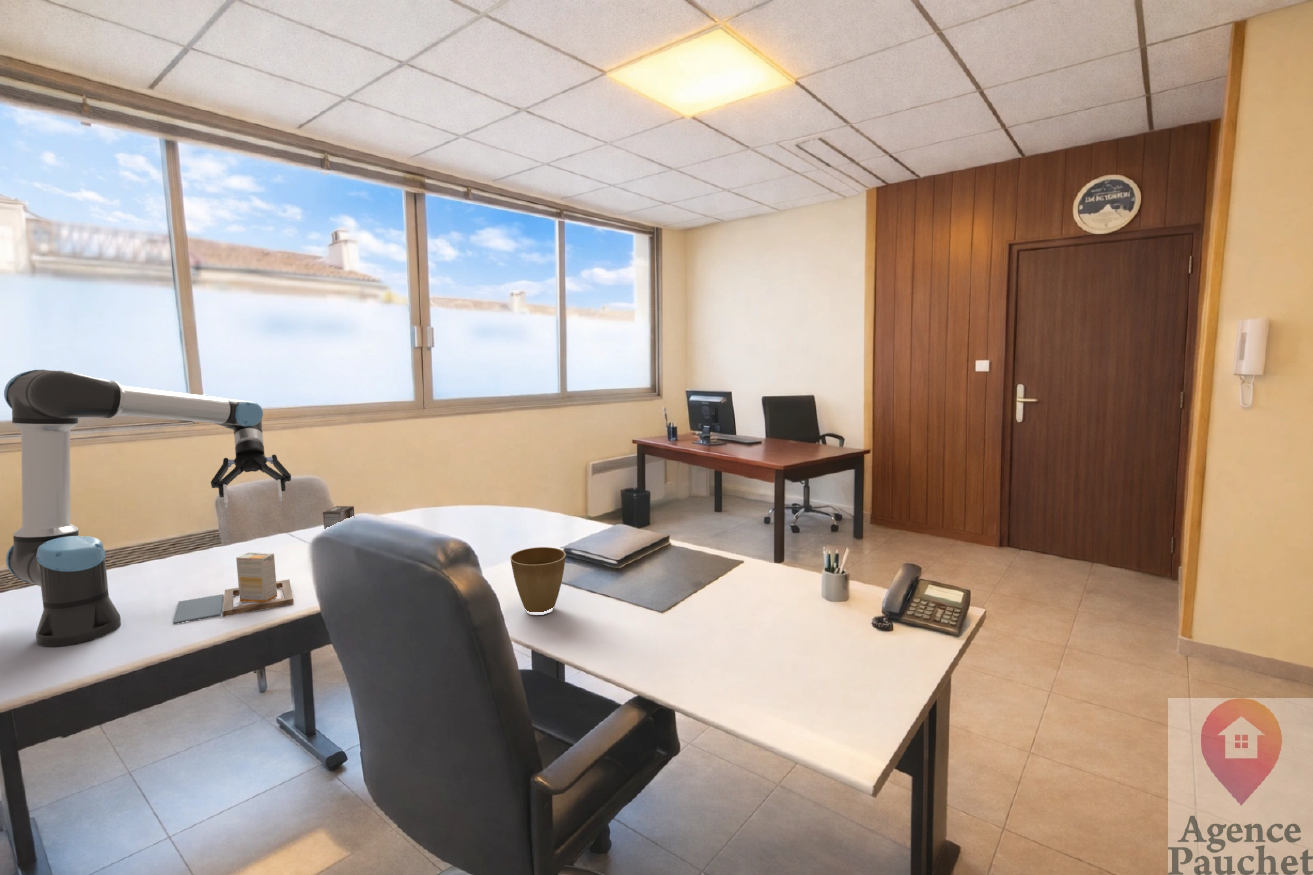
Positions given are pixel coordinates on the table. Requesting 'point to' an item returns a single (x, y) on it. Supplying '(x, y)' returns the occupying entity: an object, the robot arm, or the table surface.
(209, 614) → the mat
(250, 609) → the holder
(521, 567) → the plant pot
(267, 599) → the supplement box
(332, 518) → the coffee box
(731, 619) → the table surface
